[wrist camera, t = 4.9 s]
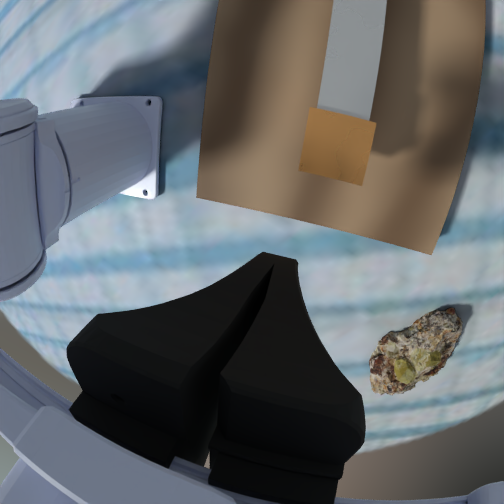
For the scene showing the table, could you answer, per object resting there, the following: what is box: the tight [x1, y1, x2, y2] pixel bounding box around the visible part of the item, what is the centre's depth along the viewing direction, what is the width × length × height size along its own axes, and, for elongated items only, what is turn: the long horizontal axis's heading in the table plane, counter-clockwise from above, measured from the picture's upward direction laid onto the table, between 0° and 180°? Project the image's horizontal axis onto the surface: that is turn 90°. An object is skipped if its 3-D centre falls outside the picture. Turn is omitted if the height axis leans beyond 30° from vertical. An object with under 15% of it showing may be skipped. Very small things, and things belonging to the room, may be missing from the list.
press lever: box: [298, 0, 387, 186], centre depth 10 cm, size 3×17×2 cm, turn 172°
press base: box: [196, 0, 486, 255], centre depth 11 cm, size 16×23×7 cm
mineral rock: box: [369, 308, 463, 395], centre depth 23 cm, size 11×4×8 cm
